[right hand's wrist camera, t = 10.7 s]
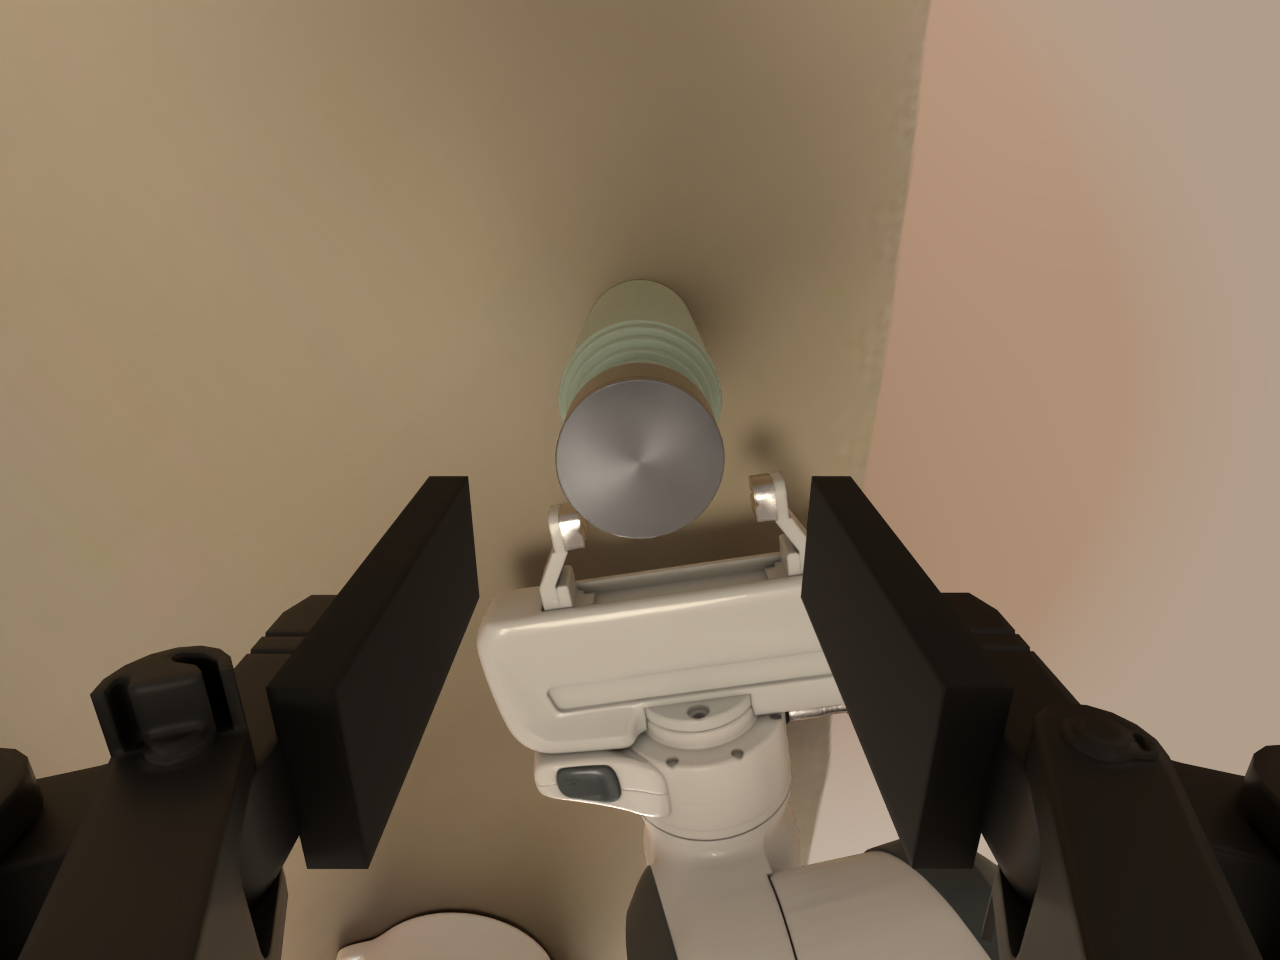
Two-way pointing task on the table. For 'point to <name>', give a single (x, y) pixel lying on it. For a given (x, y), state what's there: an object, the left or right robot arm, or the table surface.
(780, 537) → the left robot arm
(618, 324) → the bottle
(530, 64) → the table surface
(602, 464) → the cap
